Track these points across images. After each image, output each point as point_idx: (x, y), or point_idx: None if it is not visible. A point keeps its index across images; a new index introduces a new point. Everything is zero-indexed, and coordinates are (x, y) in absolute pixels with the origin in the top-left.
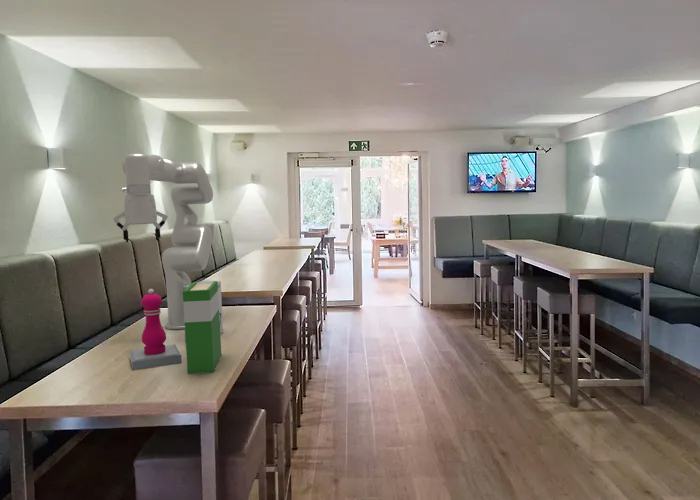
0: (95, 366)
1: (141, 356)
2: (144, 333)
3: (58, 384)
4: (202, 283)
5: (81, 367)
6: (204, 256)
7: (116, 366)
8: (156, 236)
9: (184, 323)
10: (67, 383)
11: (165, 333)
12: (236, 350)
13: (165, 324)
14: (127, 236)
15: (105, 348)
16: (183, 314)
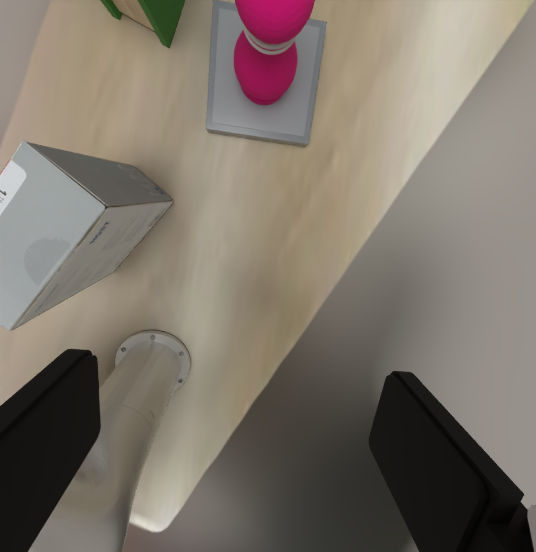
0: (375, 129)
1: (299, 53)
2: (294, 42)
3: (461, 33)
4: (15, 247)
5: (398, 141)
6: None
7: (342, 96)
8: (66, 378)
9: (158, 203)
10: (447, 27)
11: (235, 47)
12: (68, 33)
13: (186, 373)
14: (431, 412)
15: (328, 266)
16: (140, 355)
